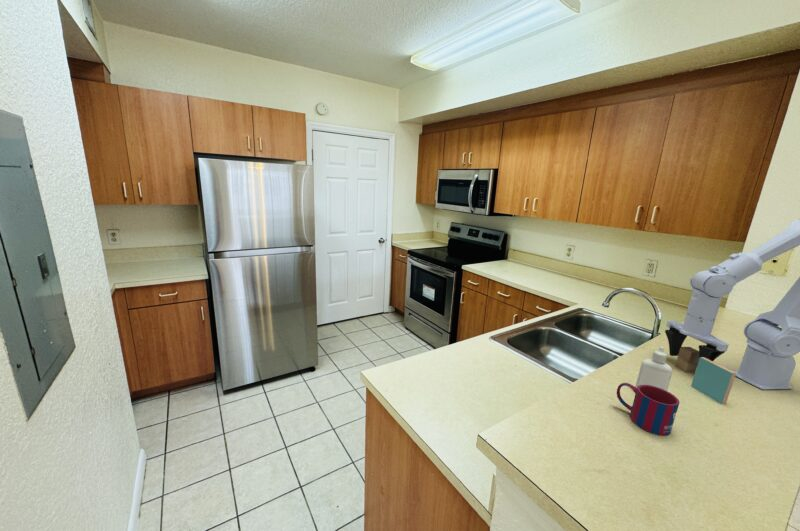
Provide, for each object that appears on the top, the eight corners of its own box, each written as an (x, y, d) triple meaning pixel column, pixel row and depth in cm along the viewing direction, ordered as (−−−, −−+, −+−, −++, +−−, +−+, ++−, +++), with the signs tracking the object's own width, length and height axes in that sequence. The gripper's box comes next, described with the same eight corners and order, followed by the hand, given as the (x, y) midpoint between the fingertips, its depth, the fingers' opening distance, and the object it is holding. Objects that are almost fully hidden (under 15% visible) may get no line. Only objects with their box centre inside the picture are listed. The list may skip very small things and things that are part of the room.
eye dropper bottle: (657, 402, 73) (671, 354, 70) (631, 388, 78) (643, 343, 75) (667, 398, 75) (681, 351, 72) (641, 385, 80) (653, 340, 77)
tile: (695, 385, 81) (704, 357, 79) (725, 404, 74) (736, 373, 72) (690, 386, 81) (699, 357, 79) (721, 404, 74) (731, 373, 72)
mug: (661, 440, 61) (670, 409, 60) (607, 409, 70) (613, 381, 68) (676, 428, 65) (685, 399, 63) (622, 400, 73) (629, 373, 72)
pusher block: (684, 366, 91) (690, 346, 89) (695, 372, 88) (701, 352, 86) (674, 366, 90) (680, 346, 89) (685, 372, 87) (691, 352, 86)
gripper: (662, 306, 92) (650, 349, 95) (717, 327, 78) (701, 377, 81) (683, 306, 93) (671, 349, 96) (741, 327, 79) (725, 377, 82)
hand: (686, 362), depth 88 cm, fingers open, 7 cm apart
